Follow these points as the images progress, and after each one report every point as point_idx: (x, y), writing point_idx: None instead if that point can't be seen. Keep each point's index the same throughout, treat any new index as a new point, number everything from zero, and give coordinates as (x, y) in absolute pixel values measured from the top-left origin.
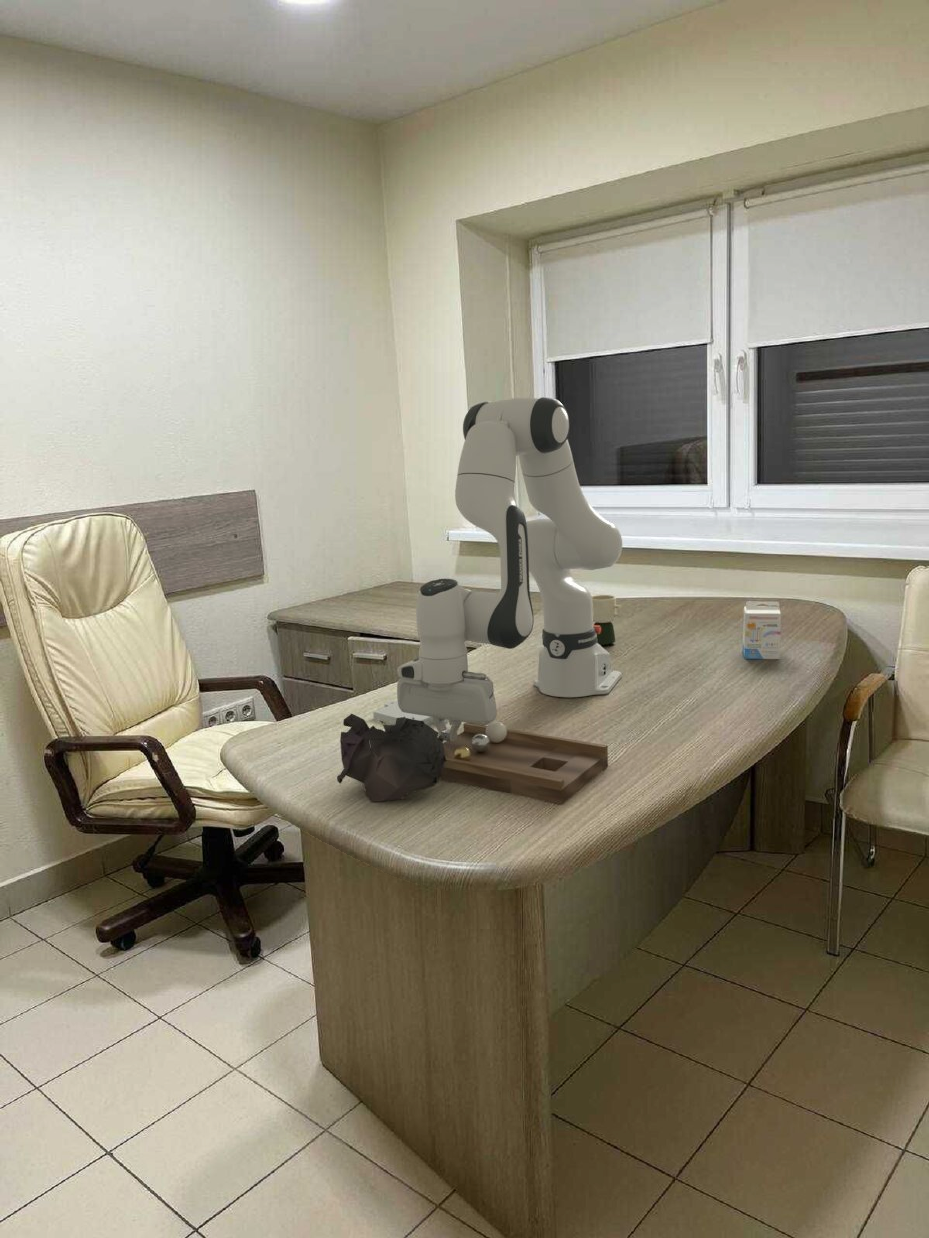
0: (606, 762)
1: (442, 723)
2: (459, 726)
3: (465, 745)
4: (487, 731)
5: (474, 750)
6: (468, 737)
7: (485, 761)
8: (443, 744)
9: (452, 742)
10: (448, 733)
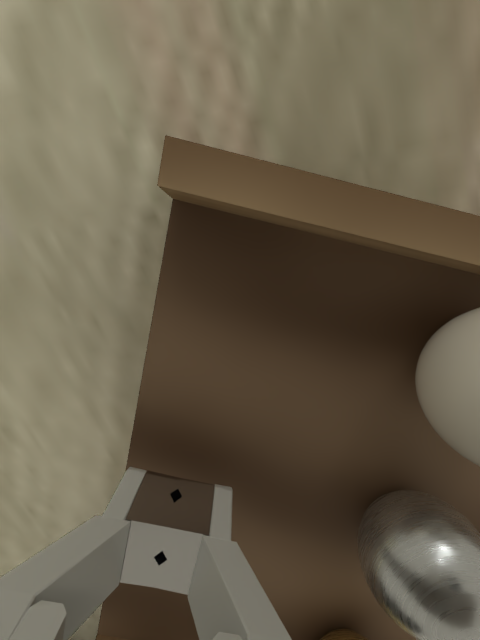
0: None
1: (72, 592)
2: (261, 588)
3: (276, 439)
4: (472, 461)
5: (349, 495)
6: (249, 312)
7: None
8: (144, 450)
9: (182, 412)
10: (185, 589)
